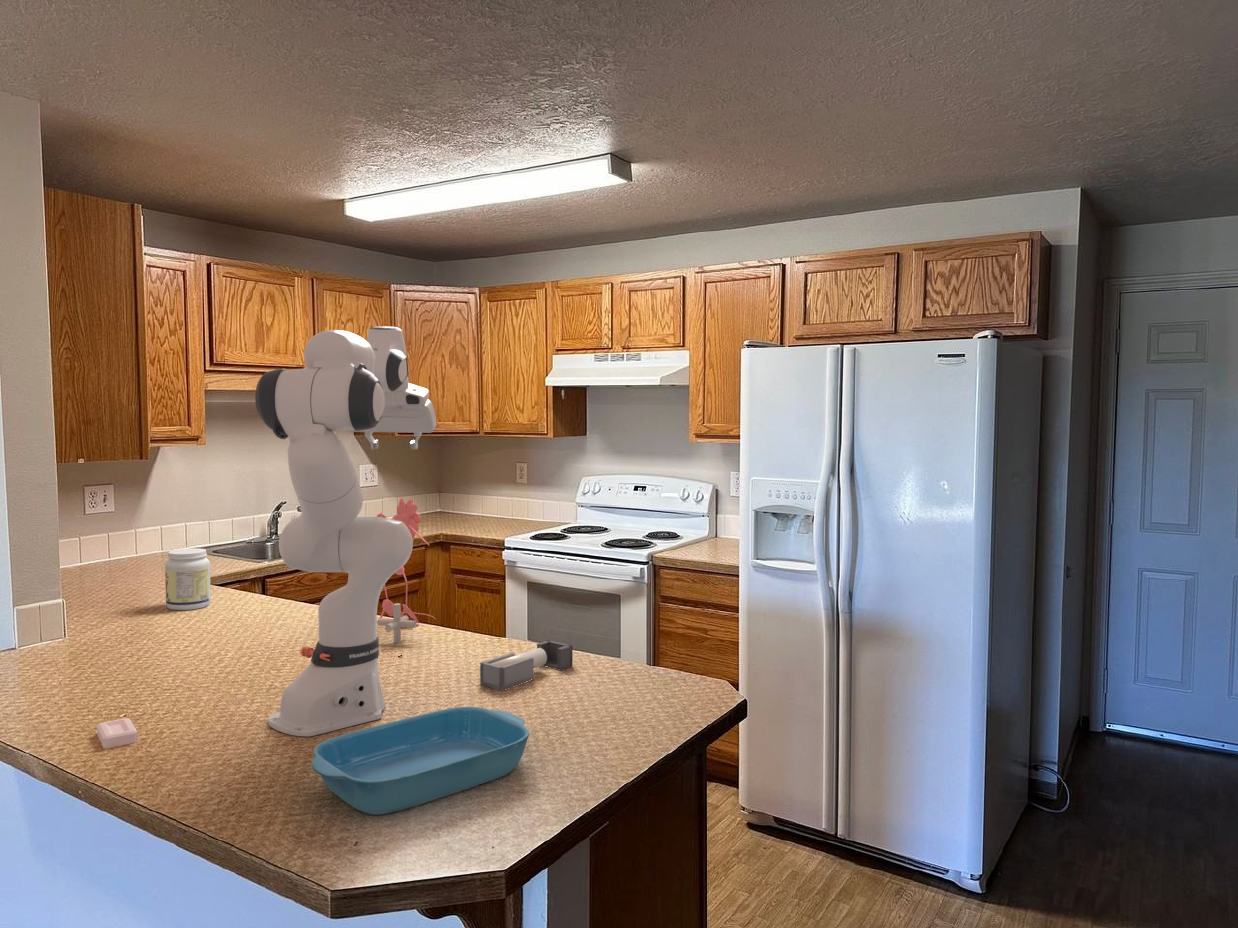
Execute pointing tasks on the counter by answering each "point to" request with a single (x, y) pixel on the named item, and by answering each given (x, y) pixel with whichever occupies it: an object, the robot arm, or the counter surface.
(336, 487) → the robot arm
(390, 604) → the figurine
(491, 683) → the sleeve
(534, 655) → the slip tube
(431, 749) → the casserole dish
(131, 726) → the soap bar
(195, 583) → the supplement tub
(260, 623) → the counter surface
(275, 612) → the counter surface
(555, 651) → the socket
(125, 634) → the counter surface
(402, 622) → the pipe connector
